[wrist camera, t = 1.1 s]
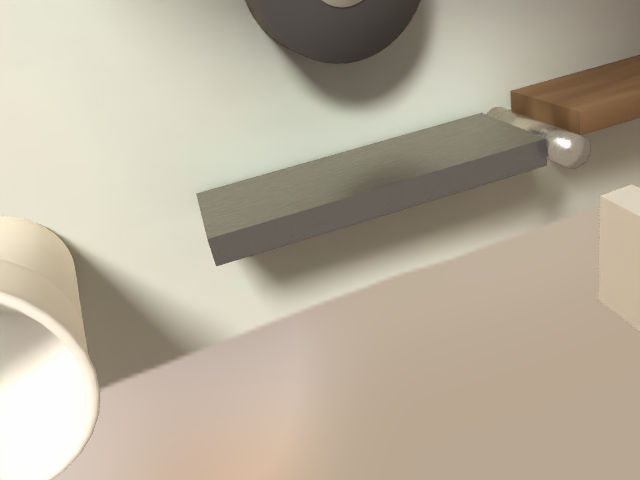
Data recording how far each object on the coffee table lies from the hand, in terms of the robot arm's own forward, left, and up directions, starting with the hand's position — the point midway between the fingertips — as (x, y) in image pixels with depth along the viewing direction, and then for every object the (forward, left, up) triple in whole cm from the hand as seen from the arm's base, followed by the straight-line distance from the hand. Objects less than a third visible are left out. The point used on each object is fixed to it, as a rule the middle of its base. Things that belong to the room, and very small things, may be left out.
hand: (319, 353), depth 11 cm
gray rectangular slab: (+4, +7, -20) cm, 22 cm away
